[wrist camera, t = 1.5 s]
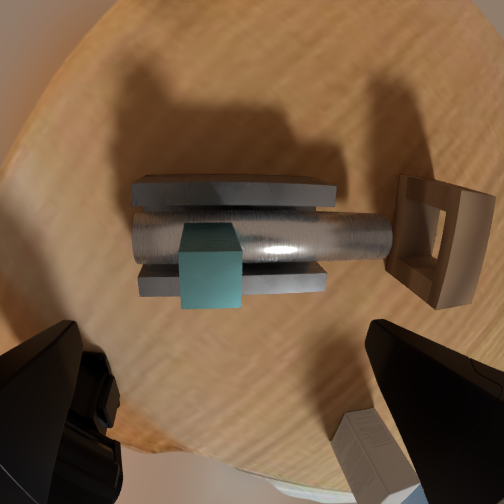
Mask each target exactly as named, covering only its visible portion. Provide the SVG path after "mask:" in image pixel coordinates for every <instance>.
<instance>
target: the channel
mask: <svg viewBox="0 0 504 504" xmlns="http://www.w3.org/2000/svg"><path fill="white" fill-rule="evenodd" d="M131 189H132V207H133V206H143V211H171V210H289V211H316V206H318V207H335V201H336V189H337V186H335V185H332V184H329V183H327V182H324V181H321V180H318V179H315V178H312V177H300V176H278V175H245V174H174V175H146V176H144V177H142V178H141V179H139V180H137V181H135V182H133V183H132V184H131ZM326 278H327V272H326V271H325V270H324V269H323V268H322V267H321V266H320V265H319V264H318V263H317V262H316V261H305V262H259V263H242V291H241V295H254V294H279V293H300V292H319V291H325V285H326ZM138 286H139V294H140V297H157V296H181V295H180V279H179V264H143V266H142V268H141V271H140V273H139V275H138Z"/></svg>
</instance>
